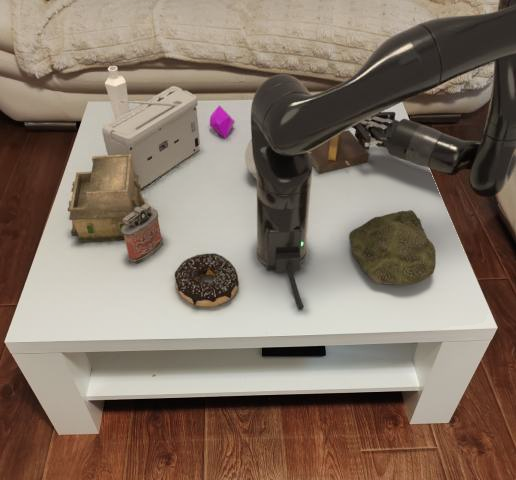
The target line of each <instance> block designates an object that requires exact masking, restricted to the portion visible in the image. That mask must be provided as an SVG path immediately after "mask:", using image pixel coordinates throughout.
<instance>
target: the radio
mask: <svg viewBox="0 0 516 480" xmlns="http://www.w3.org/2000/svg"><path fill="white" fill-rule="evenodd" d="M120 102H121V103H123V102H128V103H129V104H130V103H131V104H138V106H136V107H134V108H132V109H131V110H130V111H129V112H127V113H126V114H124V115H122V116H120V117H119V118H117V119H116V118H115V119H113V120H111V121H110V122H108V123H107V124H105V125H103V126H102V128H101V131H102V136H103V137H102V138H103V142H104V145H105V149H106V153H107V154H106V155H124V154H131V156H132V161H133V166H134V170H135V174H136V175H139V179H138V183H139V184H140V185H141V188H140V190H142V189H143V188H144V187H146V186H147V185H149V184H150V183H152V182H153V181H155V180H156V179H158V178H159V177H161V176H162V175H164V174H165V173H167V172H168V171H170V170H171V169H173V168H174V167H176V166H177V165H178V164H180V163H181V162H183V161H185V160H187V158H189V157H191V156H192V155H193V154H194V153H197V152H198V151H199V148H200V145H201V141H200V130H199V121H198V109H197V106H198V105H199V104H198V98H197V96H196V95H195V94H194V93H192V92H190V91H188V90H183V88H181V87H179V86H176V85H172V86H170V87H168V88H167V89H165V90H163V91H161V92H160V93H158V94H156V95H154V96H153V97H151V98H149V99H148V100H147V101H137V100H136V101H135V100H131V101H129V100H128V101H123V100H121V101H120Z"/></svg>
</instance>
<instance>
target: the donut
mask: <svg viewBox="0 0 516 480" xmlns="http://www.w3.org/2000/svg"><path fill="white" fill-rule="evenodd" d="M237 272H238V271H237V270H236V268H235V266H234V265H233V264H232V262H230V260H229V259H227V258H226V257H224V256H222V255H220V254H218V253H212V252H211V253H202V254H200V253H199V254H196V255H193V256H191V257H188V258H186V259H185V260H184V261H182V262H181V264H180V265H179V266H178V267H177V269H175V272H174V279H175V288H176V290H177V292H178V293H179V295H180V297H182V298H183V299H184V300H186V301H187V302H189V303H191V304H193V305H195V306H198V307H199V306H200V307H206V308H208V307H217V306H220V305H222V304H225V303H226V302H228V301H229V300H231V299H232V298H233V297H234V296H235V294H236V293H237V292H238V288H239V285H240V283H239V277H238V273H237ZM202 276H212V277H213V278H214V279H212V280H202V279H200V278H201V277H202Z"/></svg>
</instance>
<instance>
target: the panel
mask: <svg viewBox="0 0 516 480" xmlns="http://www.w3.org/2000/svg"><path fill="white" fill-rule="evenodd" d="M329 147H330V140H329V141H327V142H325V143H323V144H322V145H320V146H318V147H316V148H315V149H313V150H311V151H309V152H308V153H309V156H310V159H311V162H312V168H314V169H315V171H316V172H317V174H323V173H324V174H325V173H328V172H332V171H335V170H340V169H343V168H348V167H351V166H352V167H353V166H356V165H360V164H361V165H362V164H364V163H368V162H369V158H370V154H369V152H368V150H365V149H364V148H363V147H362V146H361V144H360V143H359V141H358V140H357V138H356V137H355V134H353V133H352V132H351V130H349V129H347V130H346V131H344V132H342V133H341V137H340V142H339V146H338V151H337V155H336V160H335V161H334V160H328V156H329Z"/></svg>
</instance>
